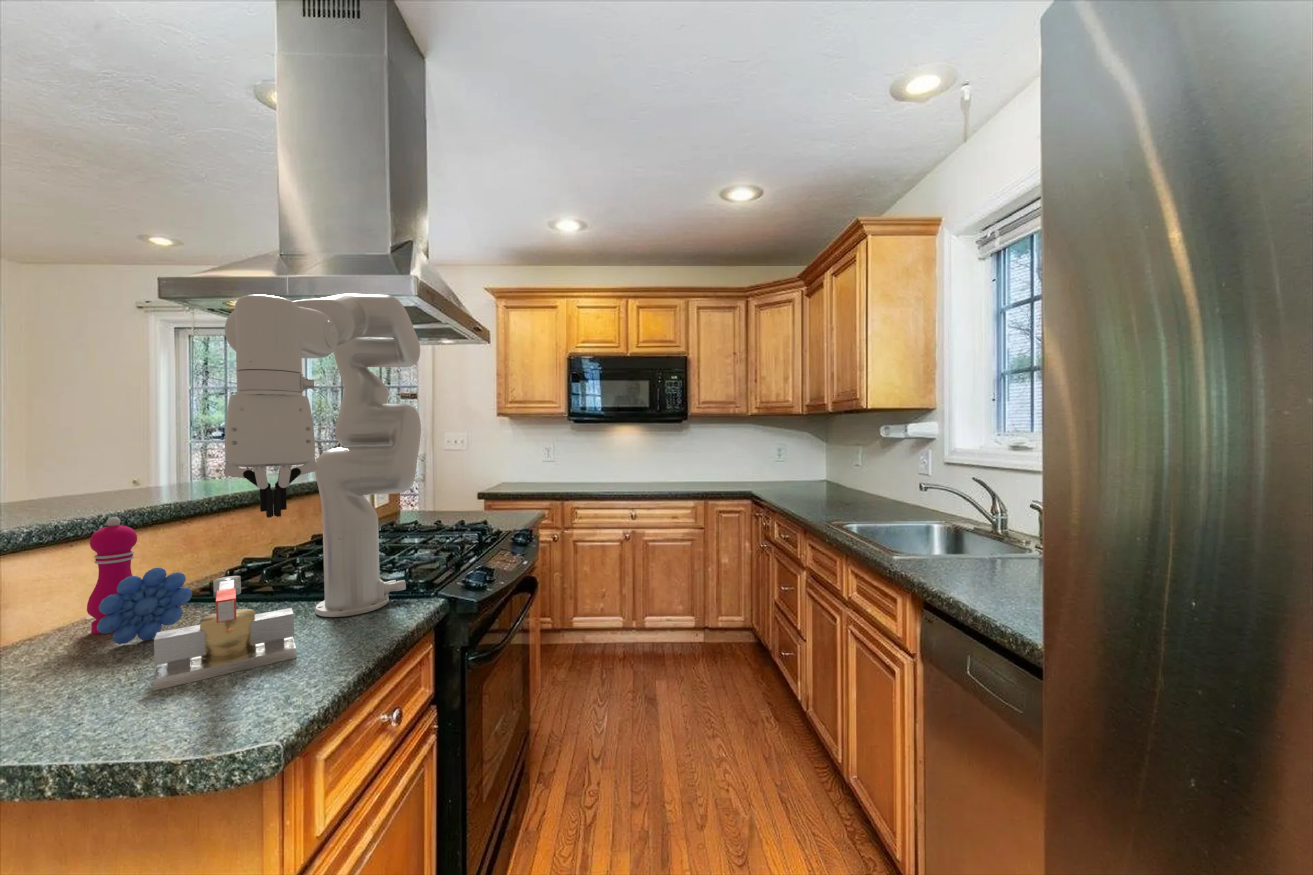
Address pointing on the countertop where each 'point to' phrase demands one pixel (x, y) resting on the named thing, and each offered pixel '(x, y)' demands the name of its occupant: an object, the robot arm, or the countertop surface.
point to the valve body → (223, 646)
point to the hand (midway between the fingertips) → (273, 515)
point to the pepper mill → (110, 563)
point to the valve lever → (226, 597)
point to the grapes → (144, 605)
